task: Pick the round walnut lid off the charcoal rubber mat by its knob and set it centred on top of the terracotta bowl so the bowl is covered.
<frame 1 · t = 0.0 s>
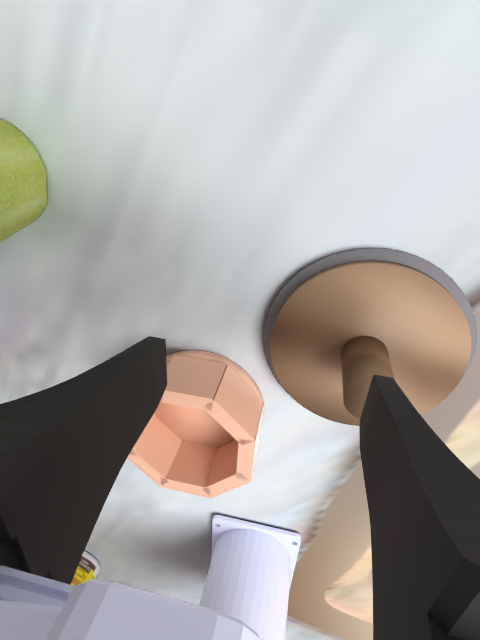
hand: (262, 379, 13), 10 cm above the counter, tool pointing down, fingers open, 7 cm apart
lid: (363, 347, 22), resting on mat
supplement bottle: (81, 557, 44), on the counter
mat: (362, 343, 23), on the counter
plant pot: (7, 173, 22), on the counter
bowl: (204, 401, 28), on the counter
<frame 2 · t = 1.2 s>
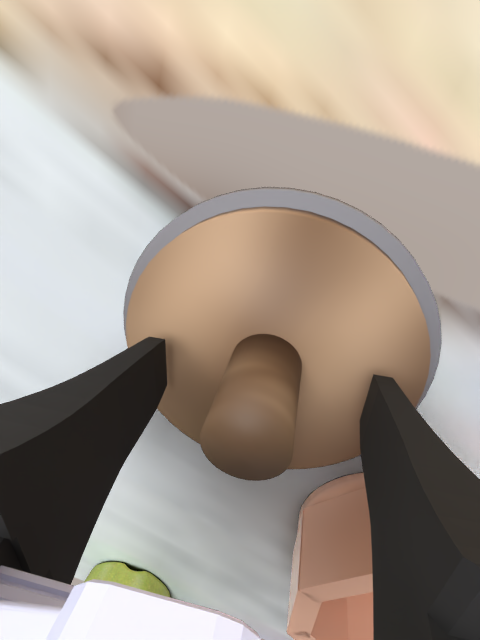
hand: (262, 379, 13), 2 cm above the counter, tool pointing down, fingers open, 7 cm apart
lid: (269, 352, 14), resting on mat
mat: (270, 345, 15), on the counter
plant pot: (133, 581, 27), on the counter
bowl: (388, 533, 19), on the counter
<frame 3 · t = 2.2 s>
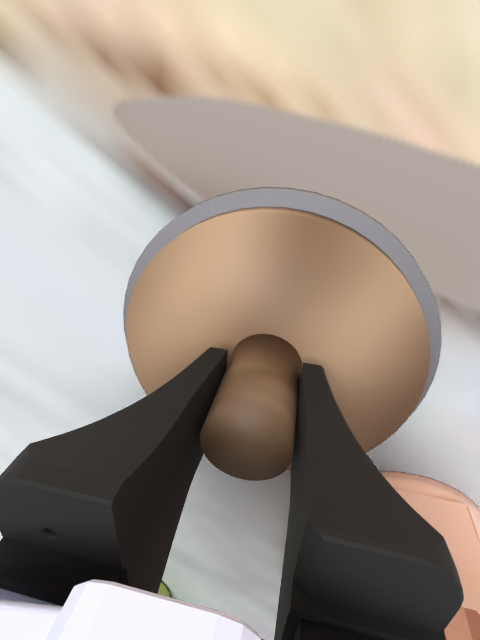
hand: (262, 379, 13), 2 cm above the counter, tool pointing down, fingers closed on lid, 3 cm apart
lid: (269, 352, 14), resting on mat, touching gripper
mat: (270, 345, 15), on the counter
bowl: (388, 533, 19), on the counter
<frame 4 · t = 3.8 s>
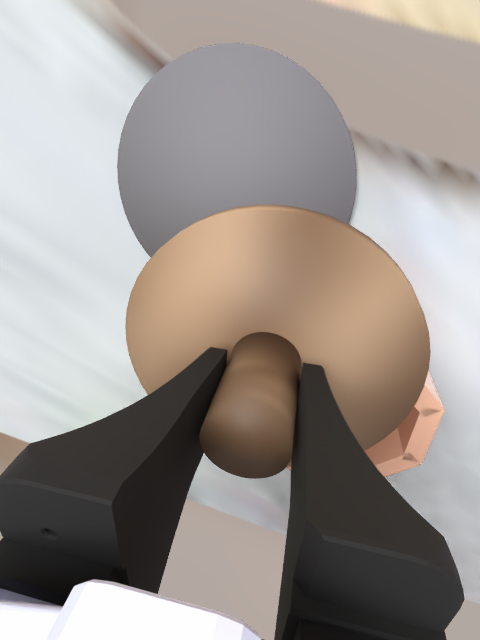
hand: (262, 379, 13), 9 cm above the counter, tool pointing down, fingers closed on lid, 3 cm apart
lid: (268, 350, 14), point 7 cm above the counter, touching gripper
mat: (232, 190, 19), on the counter
bowl: (337, 369, 23), on the counter
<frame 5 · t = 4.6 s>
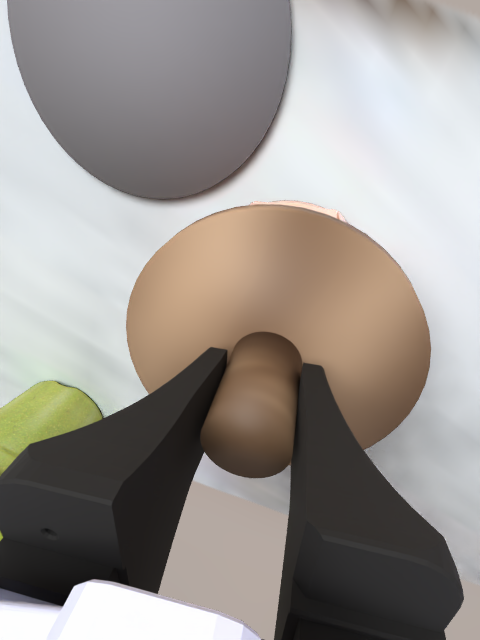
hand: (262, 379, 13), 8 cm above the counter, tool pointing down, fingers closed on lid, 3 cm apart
lid: (269, 349, 14), point 6 cm above the counter, touching gripper
mat: (147, 48, 16), on the counter
plant pot: (69, 409, 28), on the counter
bowl: (285, 288, 20), on the counter
when the fingers open (8 cm above the counter, at t = 5.2 s): lid drops 1 cm, resting on bowl.
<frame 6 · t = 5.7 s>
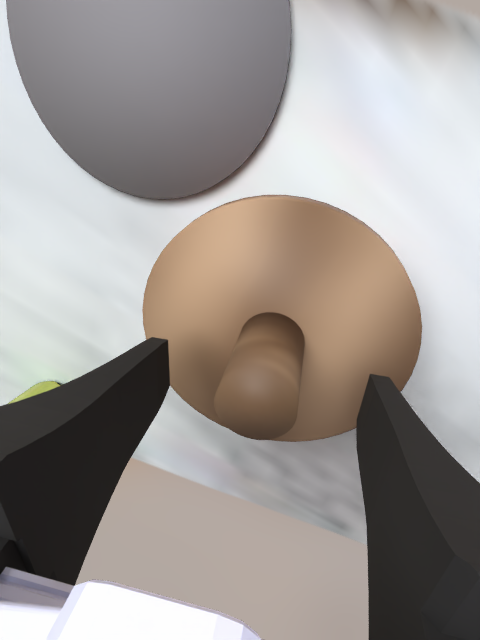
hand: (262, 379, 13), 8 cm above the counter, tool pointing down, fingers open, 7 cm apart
lid: (274, 331, 16), point 4 cm above the counter, touching bowl
mat: (146, 48, 16), on the counter
plant pot: (68, 409, 28), on the counter
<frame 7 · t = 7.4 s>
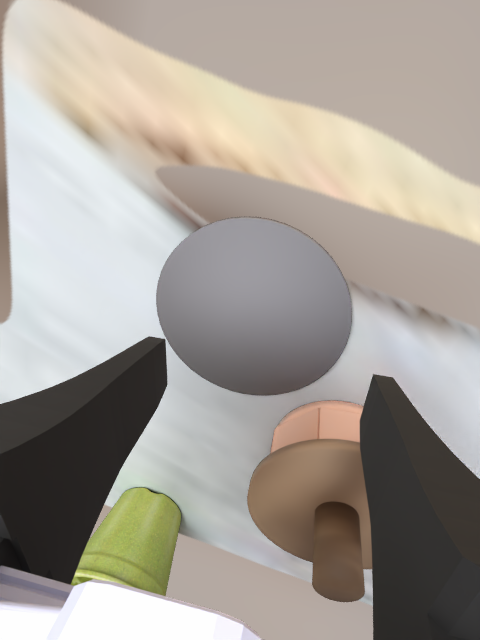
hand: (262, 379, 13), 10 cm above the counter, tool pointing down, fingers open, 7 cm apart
lid: (336, 503, 23), point 4 cm above the counter, touching bowl
mat: (250, 314, 23), on the counter
plant pot: (152, 505, 36), on the counter
bowl: (335, 448, 27), on the counter
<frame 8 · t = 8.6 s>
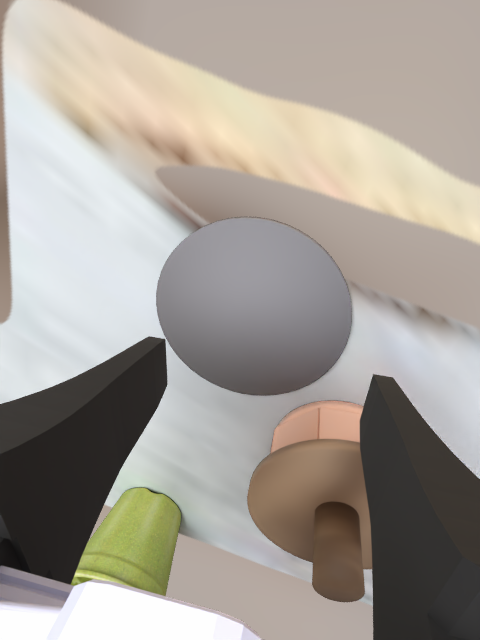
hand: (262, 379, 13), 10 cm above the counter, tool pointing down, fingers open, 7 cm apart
lid: (336, 503, 23), point 4 cm above the counter, touching bowl
mat: (250, 314, 23), on the counter
plant pot: (152, 505, 36), on the counter
bowl: (335, 448, 27), on the counter
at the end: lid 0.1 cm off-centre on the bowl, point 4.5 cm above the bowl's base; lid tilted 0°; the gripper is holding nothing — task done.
